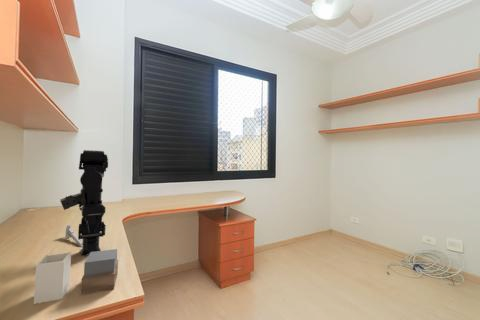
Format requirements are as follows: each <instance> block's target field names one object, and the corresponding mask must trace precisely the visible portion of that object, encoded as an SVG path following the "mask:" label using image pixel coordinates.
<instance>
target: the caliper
mask: <svg viewBox="0 0 480 320" xmlns="http://www.w3.org/2000/svg"><path fill="white" fill-rule="evenodd" d="M65 238H66V239H70V238H72V239H73V241H74V242H75V243H76V244H77V245H78V246H79V247H81V248H82V243H83V240H82V239H79V240H78V235H76V234H75V232H74V231H73V229H72V228H71V225H70V224H67V225H66V227H65Z"/></svg>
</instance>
